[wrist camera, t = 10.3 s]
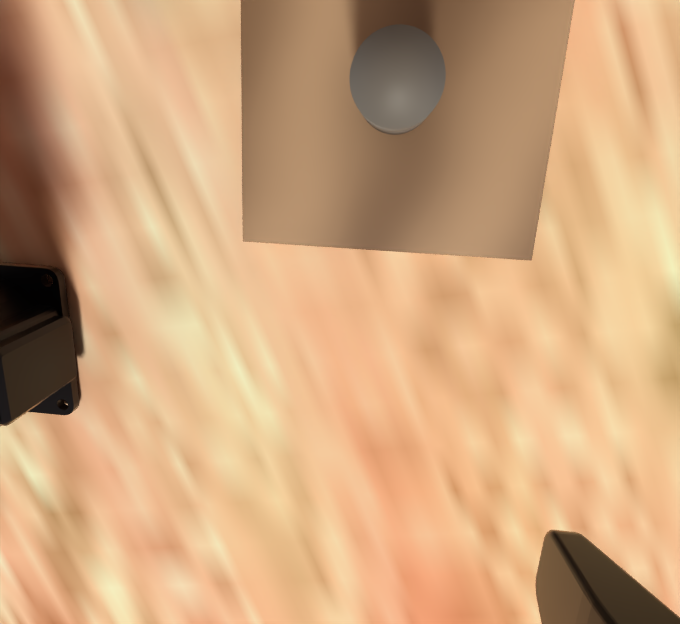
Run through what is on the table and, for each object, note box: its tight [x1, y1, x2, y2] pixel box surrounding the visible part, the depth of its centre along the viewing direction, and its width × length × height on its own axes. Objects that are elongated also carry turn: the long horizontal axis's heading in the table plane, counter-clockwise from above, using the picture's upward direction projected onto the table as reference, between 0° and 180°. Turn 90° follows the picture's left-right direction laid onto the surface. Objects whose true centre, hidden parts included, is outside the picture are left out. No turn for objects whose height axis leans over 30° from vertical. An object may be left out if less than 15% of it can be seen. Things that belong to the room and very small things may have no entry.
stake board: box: [241, 0, 575, 260], centre depth 15 cm, size 10×10×5 cm
